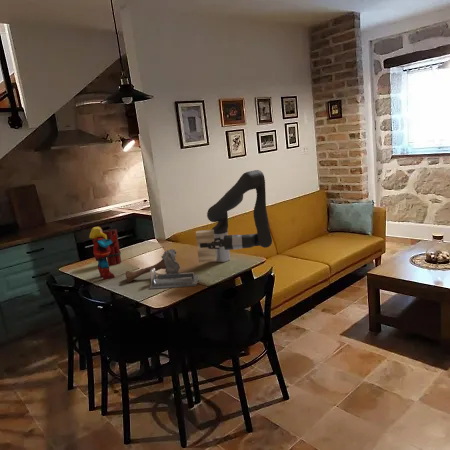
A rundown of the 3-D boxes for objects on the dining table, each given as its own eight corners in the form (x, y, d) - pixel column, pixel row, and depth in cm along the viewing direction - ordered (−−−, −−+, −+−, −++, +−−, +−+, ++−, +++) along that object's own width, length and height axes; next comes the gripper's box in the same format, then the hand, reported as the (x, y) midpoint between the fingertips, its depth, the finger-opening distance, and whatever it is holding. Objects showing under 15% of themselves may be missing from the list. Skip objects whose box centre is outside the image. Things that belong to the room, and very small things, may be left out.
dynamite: (104, 263, 261) (97, 218, 255) (117, 260, 267) (111, 215, 260) (111, 266, 254) (104, 219, 247) (124, 262, 259) (117, 216, 253)
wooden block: (199, 259, 216) (196, 230, 212) (216, 258, 215) (213, 229, 212) (198, 262, 212) (195, 232, 209) (215, 261, 211) (213, 231, 208)
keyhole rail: (155, 279, 222) (153, 265, 220) (199, 276, 220) (197, 262, 218) (149, 289, 208) (147, 274, 206) (196, 285, 206) (194, 270, 204)
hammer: (129, 282, 230) (180, 267, 235) (130, 292, 221) (183, 275, 226) (121, 260, 223) (174, 245, 228) (122, 269, 214) (177, 253, 219)
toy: (126, 276, 231) (119, 225, 225) (100, 283, 223) (92, 230, 217) (118, 270, 243) (111, 222, 237) (93, 277, 236) (85, 226, 230)
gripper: (233, 231, 217) (201, 234, 218) (232, 238, 203) (198, 241, 204) (234, 245, 218) (202, 247, 220) (233, 253, 205) (199, 255, 206)
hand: (200, 244), depth 212 cm, fingers closed on wooden block, 4 cm apart
